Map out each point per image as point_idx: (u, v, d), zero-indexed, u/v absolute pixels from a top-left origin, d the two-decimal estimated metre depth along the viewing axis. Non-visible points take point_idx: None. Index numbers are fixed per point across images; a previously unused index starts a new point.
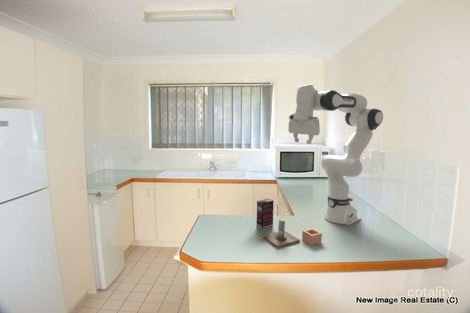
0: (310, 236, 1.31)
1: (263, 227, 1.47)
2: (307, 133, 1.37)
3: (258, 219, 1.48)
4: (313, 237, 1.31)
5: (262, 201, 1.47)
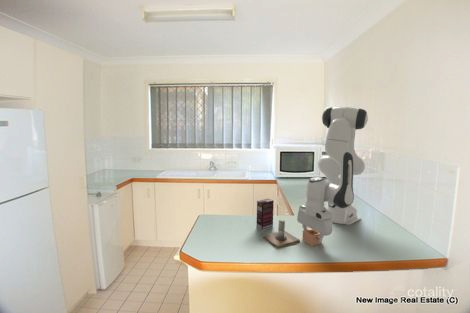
0: (310, 236, 1.31)
1: (263, 227, 1.47)
2: None
3: (258, 219, 1.48)
4: (313, 237, 1.30)
5: (262, 201, 1.47)
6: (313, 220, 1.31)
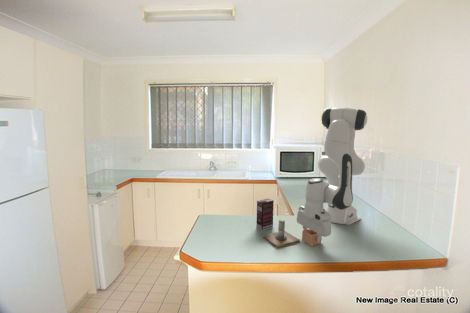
0: (310, 236, 1.31)
1: (263, 227, 1.47)
2: None
3: (258, 219, 1.48)
4: (313, 237, 1.31)
5: (262, 201, 1.47)
6: (312, 221, 1.32)
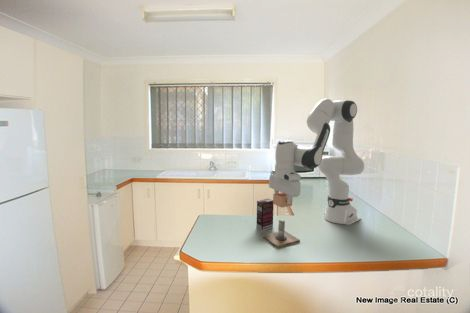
0: (280, 198, 1.29)
1: (263, 227, 1.47)
2: None
3: (258, 219, 1.48)
4: (283, 199, 1.29)
5: (262, 201, 1.47)
6: (282, 183, 1.30)
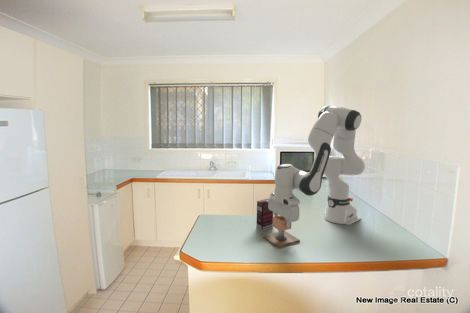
0: (279, 222, 1.31)
1: (263, 227, 1.47)
2: None
3: (258, 219, 1.48)
4: (282, 223, 1.30)
5: (262, 201, 1.47)
6: (282, 207, 1.31)
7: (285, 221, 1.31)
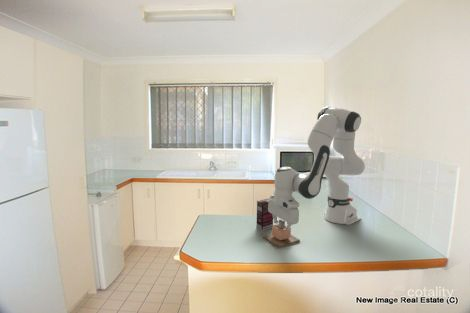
0: (278, 231, 1.32)
1: (263, 227, 1.47)
2: None
3: (258, 219, 1.48)
4: (281, 232, 1.31)
5: (262, 201, 1.47)
6: (281, 209, 1.32)
7: (284, 230, 1.32)
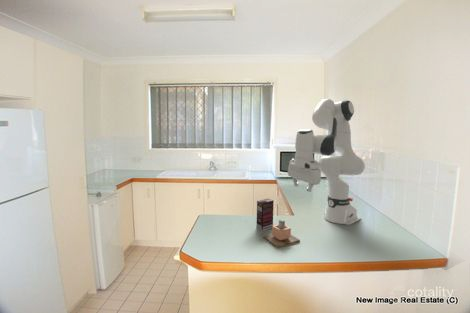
0: (278, 231, 1.32)
1: (263, 227, 1.47)
2: None
3: (258, 219, 1.48)
4: (281, 232, 1.31)
5: (262, 201, 1.47)
6: (302, 171, 1.33)
7: (284, 230, 1.32)
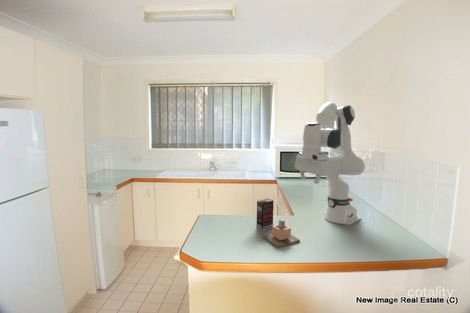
0: (278, 231, 1.32)
1: (263, 227, 1.47)
2: None
3: (258, 219, 1.48)
4: (281, 232, 1.31)
5: (262, 201, 1.47)
6: (310, 163, 1.35)
7: (284, 230, 1.32)
